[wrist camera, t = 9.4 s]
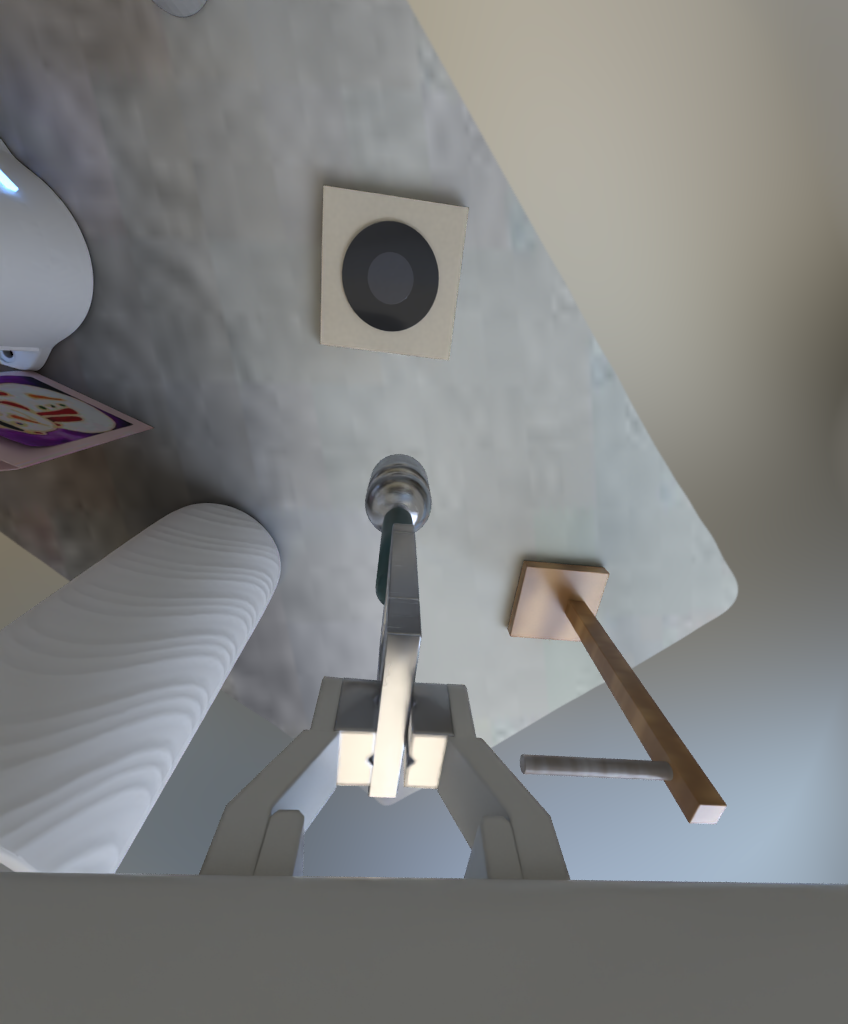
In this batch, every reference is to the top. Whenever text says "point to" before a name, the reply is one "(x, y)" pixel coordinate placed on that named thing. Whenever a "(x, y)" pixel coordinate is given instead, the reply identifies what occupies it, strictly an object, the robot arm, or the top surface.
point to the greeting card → (52, 420)
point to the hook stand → (572, 617)
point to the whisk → (396, 605)
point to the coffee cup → (180, 6)
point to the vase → (121, 683)
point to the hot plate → (390, 272)
